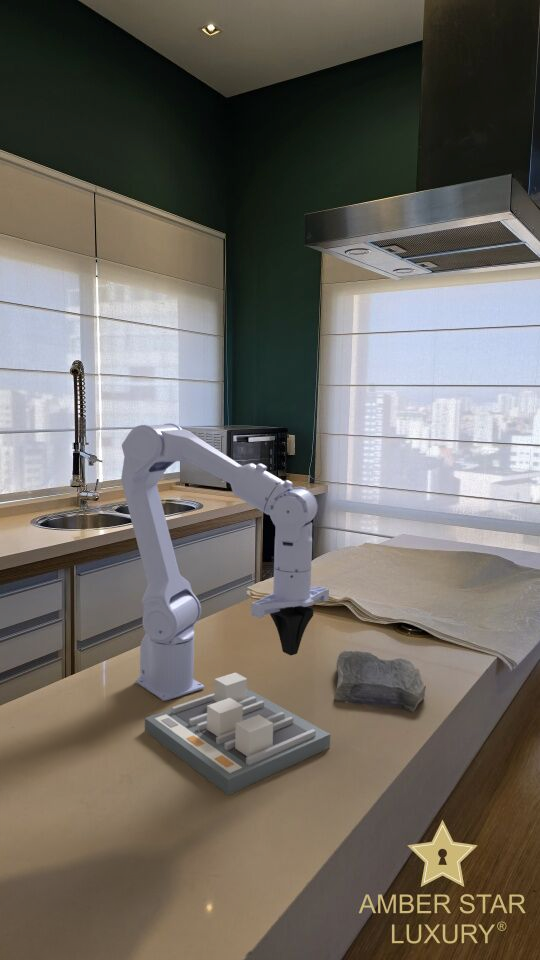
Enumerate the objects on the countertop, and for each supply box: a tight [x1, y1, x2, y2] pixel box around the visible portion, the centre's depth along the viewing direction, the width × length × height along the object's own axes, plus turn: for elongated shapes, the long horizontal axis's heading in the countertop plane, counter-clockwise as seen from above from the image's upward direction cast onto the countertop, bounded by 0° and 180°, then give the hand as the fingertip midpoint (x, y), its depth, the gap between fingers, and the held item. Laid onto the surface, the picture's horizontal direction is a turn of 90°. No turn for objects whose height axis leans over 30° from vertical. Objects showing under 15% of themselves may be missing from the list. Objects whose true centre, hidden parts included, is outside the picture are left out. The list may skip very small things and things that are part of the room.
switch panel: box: [144, 688, 331, 796], centre depth 95 cm, size 20×18×3 cm
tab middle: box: [207, 698, 243, 736], centre depth 93 cm, size 3×4×4 cm
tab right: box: [235, 715, 273, 757], centre depth 89 cm, size 3×4×4 cm
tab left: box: [213, 671, 248, 702], centre depth 102 cm, size 3×4×4 cm
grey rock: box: [333, 650, 427, 713], centre depth 114 cm, size 15×16×4 cm
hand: (289, 652), depth 103 cm, fingers closed
